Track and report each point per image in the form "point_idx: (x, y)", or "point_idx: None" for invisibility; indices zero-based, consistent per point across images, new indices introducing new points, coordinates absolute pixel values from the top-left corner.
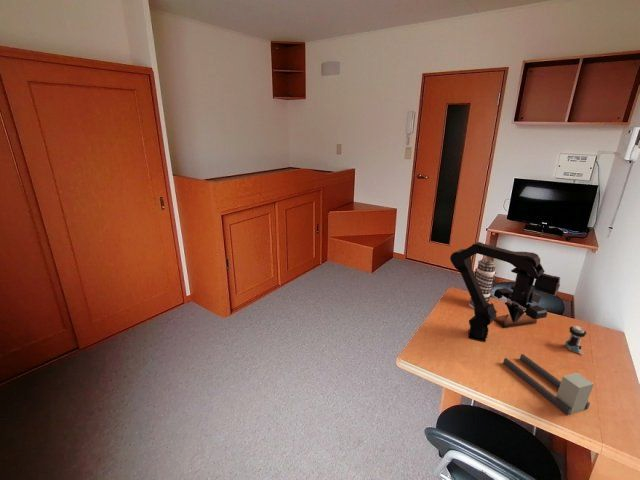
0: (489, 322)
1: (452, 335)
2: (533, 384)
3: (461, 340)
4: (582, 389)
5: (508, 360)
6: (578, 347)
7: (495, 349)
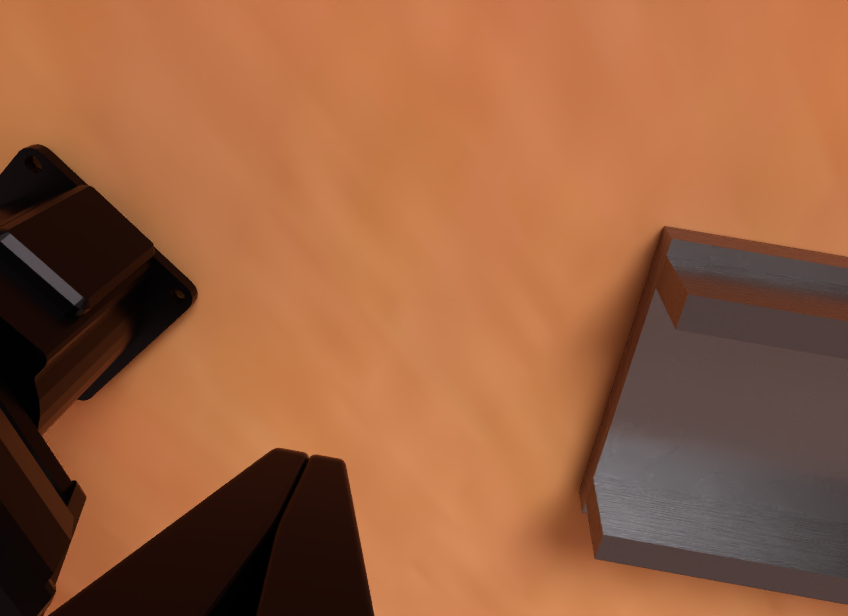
0: (52, 597)
1: None
2: None
3: (106, 478)
4: None
5: (642, 551)
6: None
7: (354, 302)
